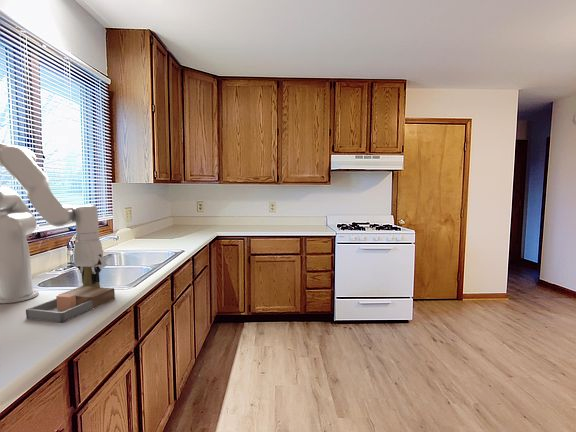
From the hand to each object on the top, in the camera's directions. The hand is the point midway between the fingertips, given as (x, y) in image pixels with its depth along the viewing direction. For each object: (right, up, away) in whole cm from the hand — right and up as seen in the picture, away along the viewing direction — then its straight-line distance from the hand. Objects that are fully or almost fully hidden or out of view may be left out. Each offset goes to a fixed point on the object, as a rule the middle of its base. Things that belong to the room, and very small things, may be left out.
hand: (91, 282), depth 132 cm
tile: (+5, -2, -20) cm, 21 cm away
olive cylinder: (0, -2, 0) cm, 3 cm away
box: (+4, -6, -23) cm, 24 cm away
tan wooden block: (+6, -5, -12) cm, 15 cm away
